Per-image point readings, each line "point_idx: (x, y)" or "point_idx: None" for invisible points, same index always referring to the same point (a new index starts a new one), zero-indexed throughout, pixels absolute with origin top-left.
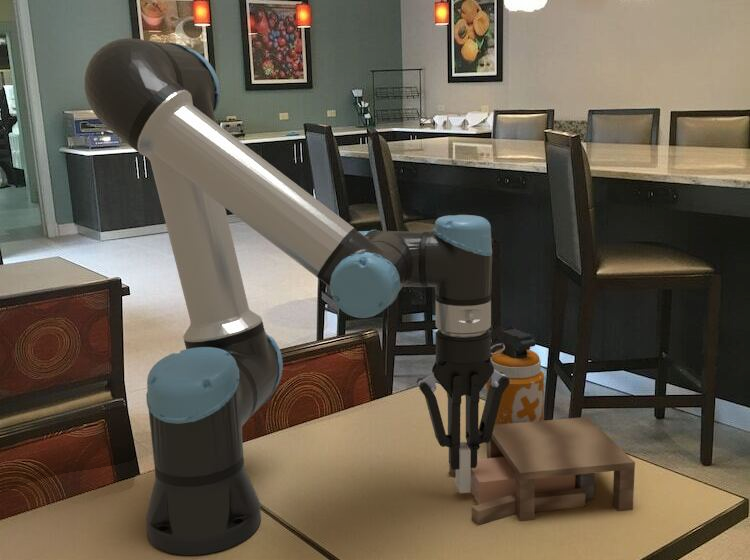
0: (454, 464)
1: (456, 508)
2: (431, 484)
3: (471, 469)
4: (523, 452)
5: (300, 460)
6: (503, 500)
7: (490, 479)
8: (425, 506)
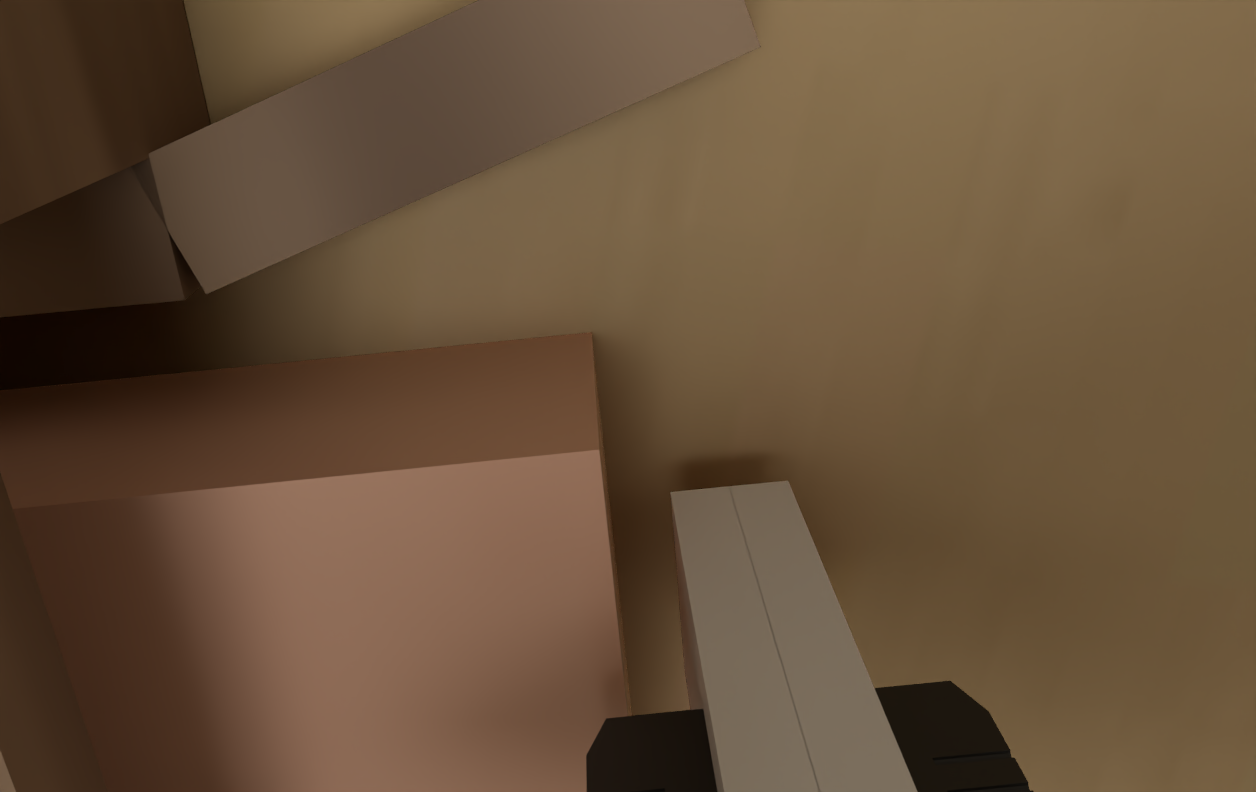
0: (947, 736)
1: (840, 307)
2: None
3: None
4: None
5: None
6: (312, 162)
7: (428, 510)
8: (1142, 375)
